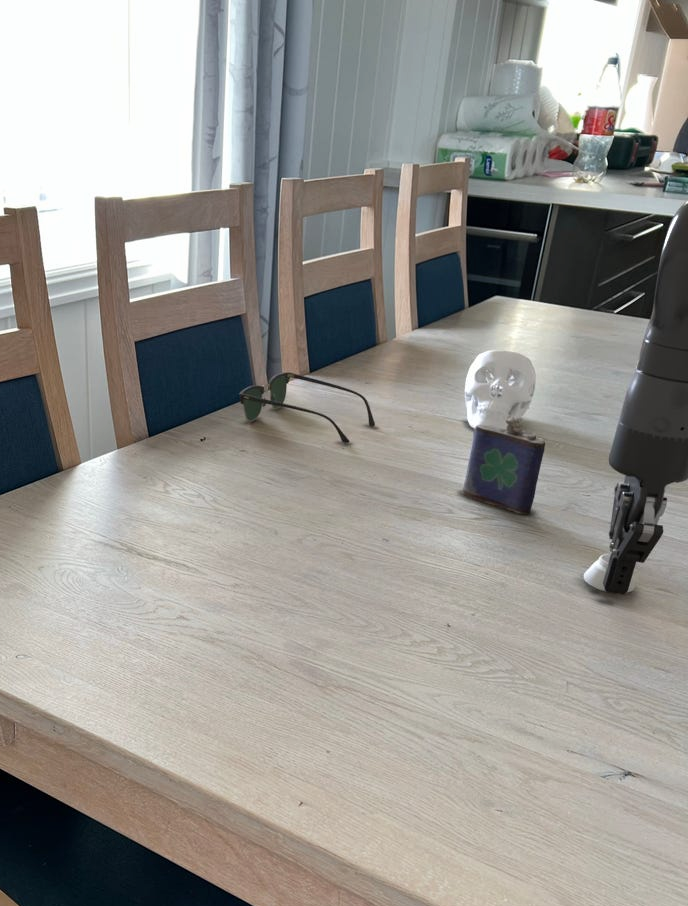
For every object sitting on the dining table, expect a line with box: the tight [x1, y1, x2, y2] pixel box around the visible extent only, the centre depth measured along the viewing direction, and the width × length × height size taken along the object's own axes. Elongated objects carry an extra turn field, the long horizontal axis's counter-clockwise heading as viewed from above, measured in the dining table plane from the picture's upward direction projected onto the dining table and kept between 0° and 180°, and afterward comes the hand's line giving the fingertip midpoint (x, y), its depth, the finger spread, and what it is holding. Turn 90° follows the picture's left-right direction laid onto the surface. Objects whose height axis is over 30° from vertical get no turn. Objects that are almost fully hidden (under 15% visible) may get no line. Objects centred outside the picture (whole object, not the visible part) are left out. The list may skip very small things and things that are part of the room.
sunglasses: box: [238, 371, 376, 444], centre depth 145 cm, size 16×17×5 cm
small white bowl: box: [583, 553, 637, 593], centre depth 101 cm, size 5×3×5 cm
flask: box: [462, 417, 546, 515], centre depth 119 cm, size 9×3×11 cm, turn 46°
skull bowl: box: [464, 349, 537, 430], centre depth 151 cm, size 10×14×12 cm
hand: (614, 590), depth 98 cm, fingers closed
